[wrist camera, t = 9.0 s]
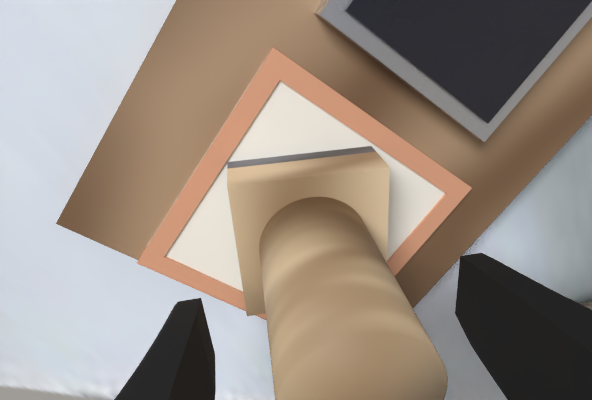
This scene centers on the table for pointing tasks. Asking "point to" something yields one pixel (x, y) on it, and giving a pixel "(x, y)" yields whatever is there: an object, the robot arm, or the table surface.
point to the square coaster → (280, 142)
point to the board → (340, 77)
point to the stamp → (328, 278)
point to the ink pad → (462, 48)
